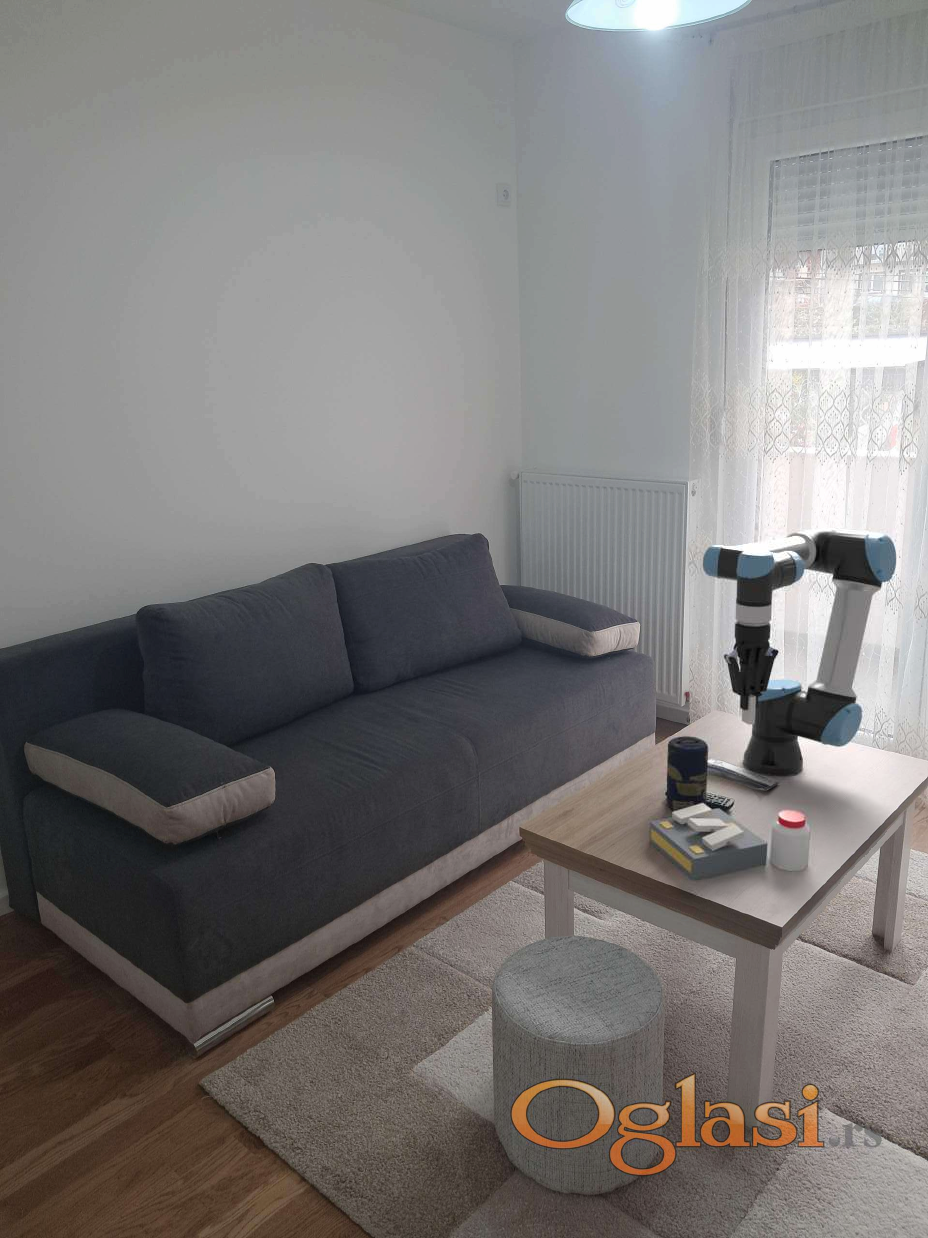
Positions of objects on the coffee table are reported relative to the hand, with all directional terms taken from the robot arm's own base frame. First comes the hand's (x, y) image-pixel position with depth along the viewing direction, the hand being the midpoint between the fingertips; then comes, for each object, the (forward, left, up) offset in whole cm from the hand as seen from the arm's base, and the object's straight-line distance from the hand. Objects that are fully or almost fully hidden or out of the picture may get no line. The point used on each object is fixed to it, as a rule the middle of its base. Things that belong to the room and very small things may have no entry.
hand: (748, 722), depth 212 cm
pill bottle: (+1, +18, -26) cm, 31 cm away
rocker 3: (+15, +14, -20) cm, 28 cm away
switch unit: (+15, +8, -26) cm, 31 cm away
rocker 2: (+15, +8, -20) cm, 26 cm away
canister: (+7, -13, -26) cm, 30 cm away
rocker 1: (+15, +2, -20) cm, 24 cm away
